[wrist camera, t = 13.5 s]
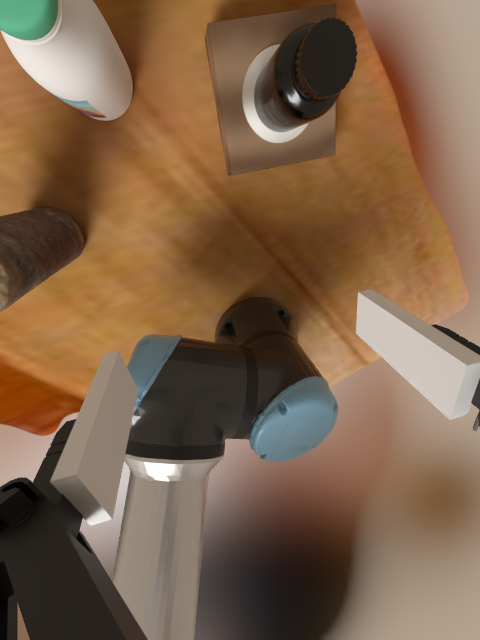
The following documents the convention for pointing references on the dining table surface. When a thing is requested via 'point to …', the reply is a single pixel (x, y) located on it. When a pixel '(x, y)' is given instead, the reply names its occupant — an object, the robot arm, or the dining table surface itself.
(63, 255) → the brown cylinder
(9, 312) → the dining table surface
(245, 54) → the walnut plinth
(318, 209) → the dining table surface
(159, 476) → the robot arm
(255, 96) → the supplement bottle
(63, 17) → the milk bottle
